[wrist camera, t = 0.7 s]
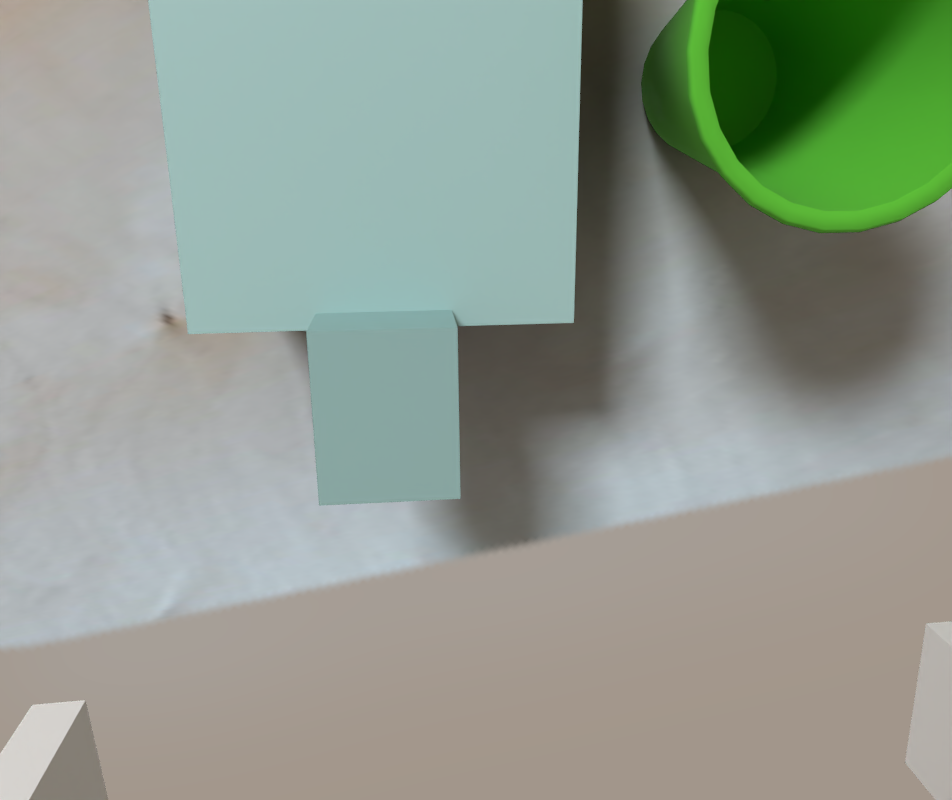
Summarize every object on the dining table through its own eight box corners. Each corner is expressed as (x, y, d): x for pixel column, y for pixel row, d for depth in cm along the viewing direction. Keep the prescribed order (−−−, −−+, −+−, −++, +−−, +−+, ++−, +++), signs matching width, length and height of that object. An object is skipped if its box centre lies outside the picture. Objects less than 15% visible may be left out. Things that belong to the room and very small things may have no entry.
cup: (704, 253, 32) (850, 303, 22) (538, 94, 30) (613, 64, 19) (868, 72, 31) (1110, 33, 20) (708, -110, 28) (889, -263, 18)
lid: (130, -326, 20) (59, -453, 16) (574, -309, 21) (619, -424, 17) (219, 453, 27) (184, 511, 22) (558, 439, 28) (587, 492, 23)
